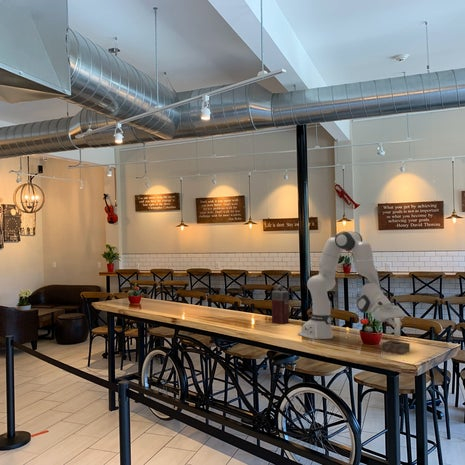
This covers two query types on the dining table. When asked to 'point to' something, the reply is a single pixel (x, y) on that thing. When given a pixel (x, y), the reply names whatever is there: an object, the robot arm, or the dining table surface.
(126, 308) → the dining table surface
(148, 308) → the dining table surface
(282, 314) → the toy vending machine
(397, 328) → the peg
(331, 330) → the robot arm
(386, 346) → the socket block
